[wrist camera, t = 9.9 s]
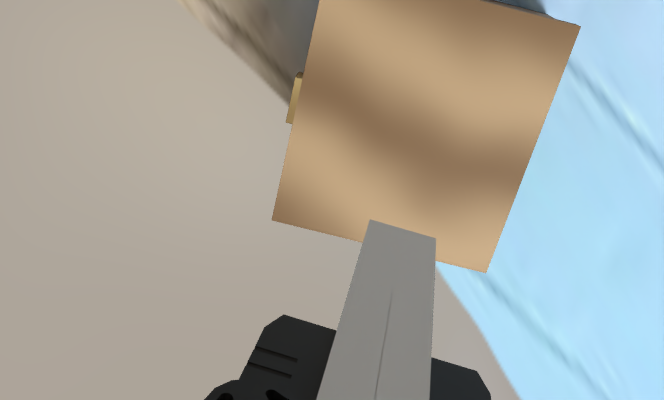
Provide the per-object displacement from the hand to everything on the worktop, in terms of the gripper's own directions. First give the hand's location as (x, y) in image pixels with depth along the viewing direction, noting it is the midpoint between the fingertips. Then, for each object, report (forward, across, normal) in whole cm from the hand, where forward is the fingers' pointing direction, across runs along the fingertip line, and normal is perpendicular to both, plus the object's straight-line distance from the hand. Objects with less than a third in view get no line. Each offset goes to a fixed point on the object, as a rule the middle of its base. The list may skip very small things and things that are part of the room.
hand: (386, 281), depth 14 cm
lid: (+15, 0, 0) cm, 15 cm away
